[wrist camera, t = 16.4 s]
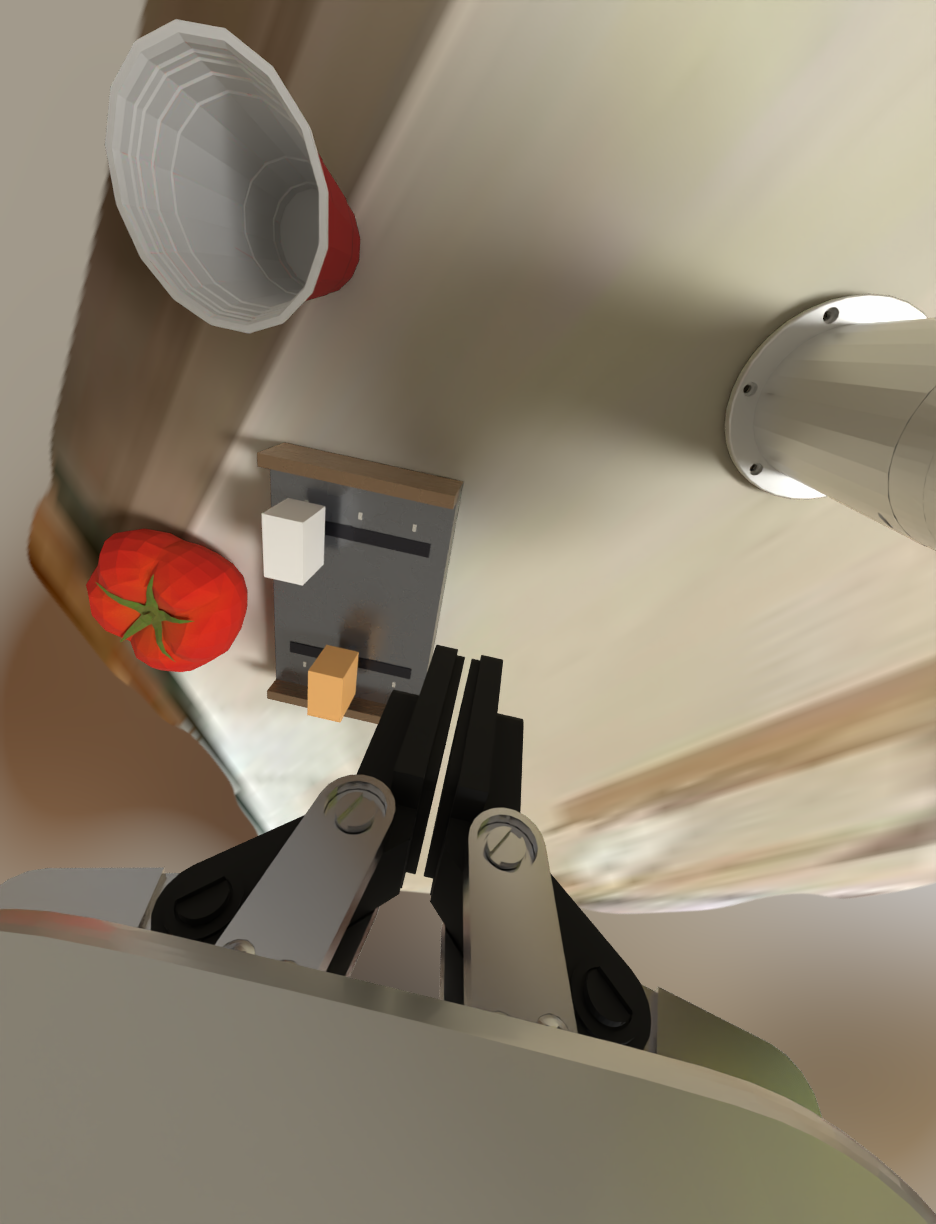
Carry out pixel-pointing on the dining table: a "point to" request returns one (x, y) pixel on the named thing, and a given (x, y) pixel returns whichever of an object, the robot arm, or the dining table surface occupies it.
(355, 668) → the block
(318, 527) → the block
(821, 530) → the dining table surface
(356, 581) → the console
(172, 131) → the plastic cup
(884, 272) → the dining table surface
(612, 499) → the dining table surface
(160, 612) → the tomato
